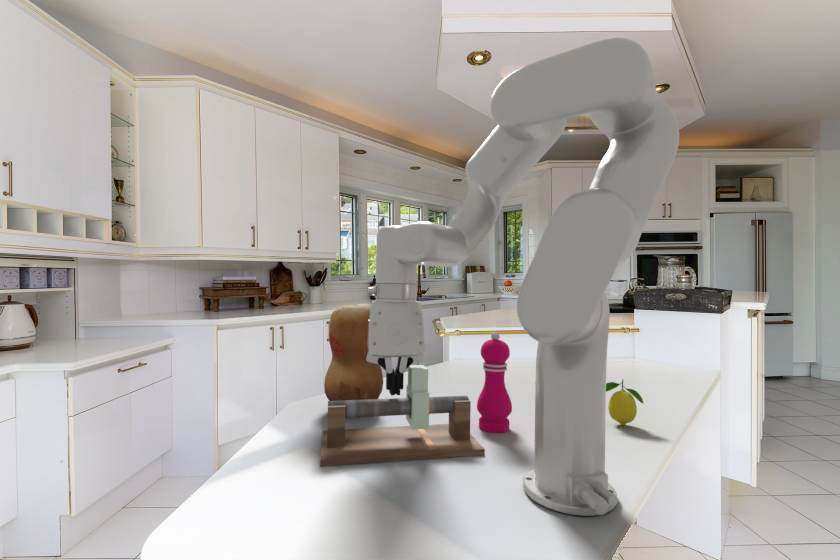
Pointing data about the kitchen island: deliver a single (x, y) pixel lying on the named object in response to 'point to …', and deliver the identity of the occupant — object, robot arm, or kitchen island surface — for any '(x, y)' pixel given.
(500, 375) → the pepper mill
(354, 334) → the butternut squash
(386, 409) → the pipe stand
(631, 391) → the lemon
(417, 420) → the sleeve
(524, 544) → the kitchen island surface
